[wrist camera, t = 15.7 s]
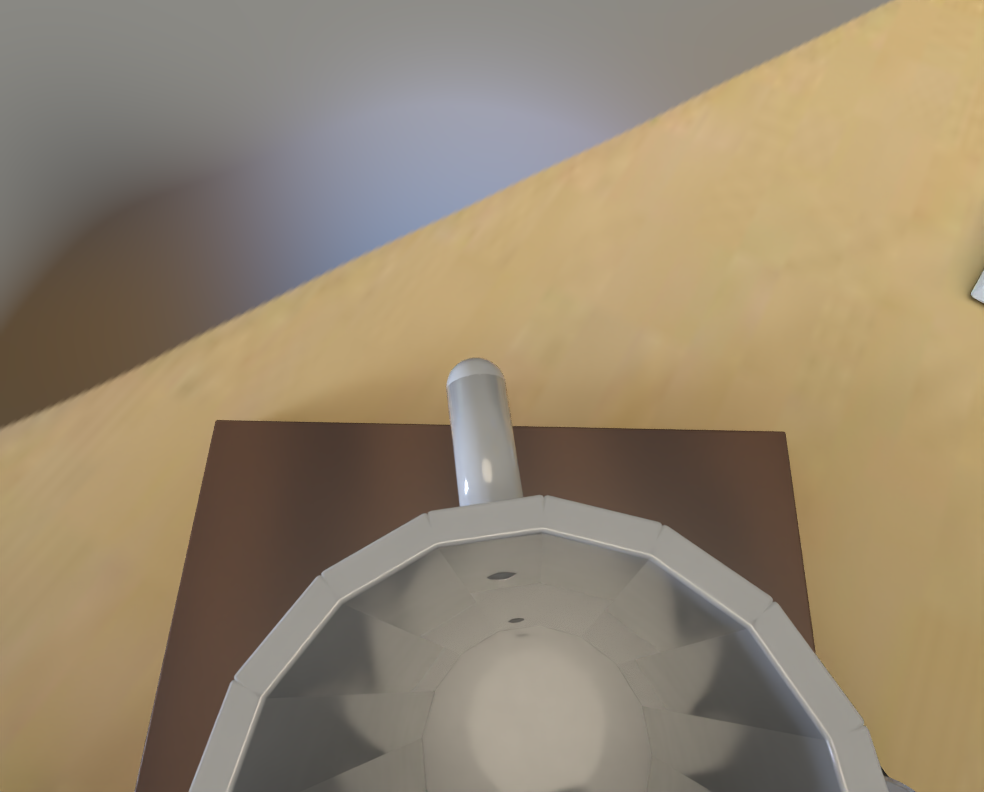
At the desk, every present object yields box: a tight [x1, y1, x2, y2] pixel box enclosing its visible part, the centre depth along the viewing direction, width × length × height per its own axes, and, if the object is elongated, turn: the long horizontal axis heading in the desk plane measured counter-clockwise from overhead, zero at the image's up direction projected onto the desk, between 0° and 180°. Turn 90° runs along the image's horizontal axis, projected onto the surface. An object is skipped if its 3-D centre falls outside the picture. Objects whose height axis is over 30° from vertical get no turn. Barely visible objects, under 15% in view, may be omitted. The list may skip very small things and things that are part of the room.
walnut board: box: [135, 420, 816, 792], centre depth 20 cm, size 20×20×1 cm
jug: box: [189, 358, 889, 792], centre depth 12 cm, size 9×6×12 cm
